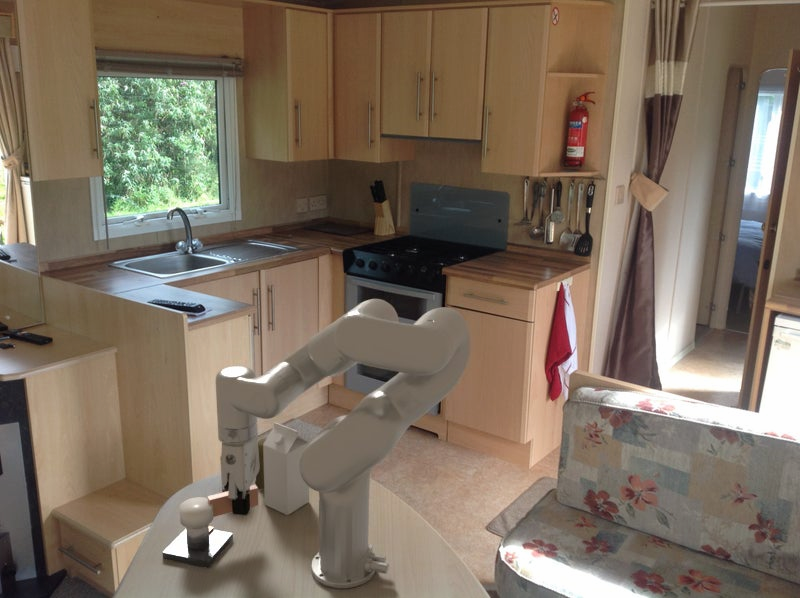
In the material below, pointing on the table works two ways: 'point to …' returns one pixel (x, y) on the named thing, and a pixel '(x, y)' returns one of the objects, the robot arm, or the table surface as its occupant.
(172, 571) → the table surface
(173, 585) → the table surface
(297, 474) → the milk carton
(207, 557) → the coupling base
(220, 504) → the orange bar with ball
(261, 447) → the olive pear
